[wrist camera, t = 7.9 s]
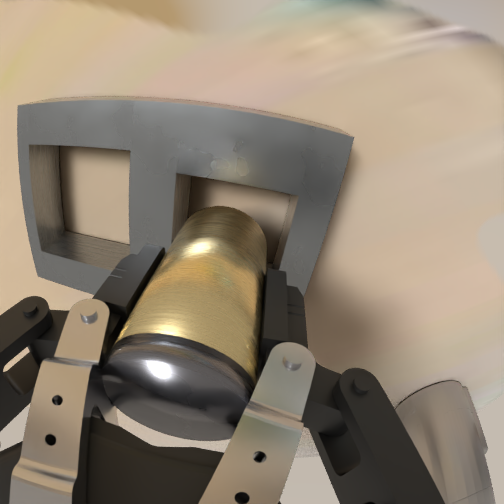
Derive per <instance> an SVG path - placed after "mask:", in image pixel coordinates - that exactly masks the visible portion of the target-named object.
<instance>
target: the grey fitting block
mask: <svg viewBox="0 0 504 504" xmlns="http://www.w3.org/2000/svg"><path fill="white" fill-rule="evenodd" d="M17 135H18V161H19V174H20V184H21V193H22V201H23V208H24V214H25V220H26V226H27V232H28V237H29V242H30V246H31V251H32V255H33V259H34V263H35V267H36V271H37V275H38V277H41V278H44V279H47V280H50V281H53V282H56V283H59V284H62V285H65V286H68V287H71V288H74V289H77V290H80V291H84V292H87V293H90V294H93V295H95V294H96V293H97V291H98V290H99V288H100V287H101V286H102V284H103V283H104V282H105V280H106V279H107V278H108V276H110V274H111V272H112V271H113V270H114V269H115V267H116V266H117V264H118V263H119V262H120V261H121V259H123V258H125V257H126V256H128V255H130V254H136V255H138V253H139V252H140V251H141V249H142V248H143V247H144V245H145V244H150V245H155V246H160V247H164V248H165V254H166V252H167V250H168V249H169V247H170V246H171V244H172V242H173V241H174V239H175V238H176V236H177V234H178V233H179V231H180V230H181V228H182V226H183V225H184V223H185V222H186V221H187V216H188V205H189V195H190V185H191V176H198V177H204V178H210V179H216V180H222V181H227V182H233V183H238V184H243V185H248V186H253V187H259V188H263V189H268V190H273V191H278V192H283V193H287V194H291V197H290V201H289V205H288V209H287V213H286V217H285V221H284V225H283V229H282V233H281V237H280V240H279V244H278V248H277V252H276V256H275V260H274V264H272V263H267V262H266V270H267V268H270V269H275V270H280V271H286V274H287V285H289V286H294V287H298V289H299V291H300V292H301V294H302V295H303V297H304V295H305V292H306V289H307V287H308V284H309V281H310V278H311V275H312V272H313V270H314V267H315V264H316V261H317V258H318V255H319V252H320V249H321V246H322V243H323V240H324V237H325V234H326V231H327V228H328V225H329V222H330V219H331V216H332V212H333V209H334V206H335V203H336V199H337V196H338V193H339V189H340V186H341V183H342V179H343V176H344V172H345V169H346V165H347V162H348V158H349V155H350V151H351V147H352V144H353V140H354V137H353V136H351V135H349V134H348V133H346V132H344V131H343V130H341V129H338V128H334V127H331V126H327V125H323V124H319V123H315V122H311V121H307V120H303V119H299V118H295V117H290V116H286V115H281V114H276V113H271V112H266V111H261V110H255V109H249V108H243V107H237V106H231V105H224V104H217V103H209V102H200V101H191V100H180V99H168V98H152V97H122V96H100V97H72V98H57V99H47V100H42V101H36V102H32V103H27V104H22V105H18V118H17ZM59 145H64V146H83V147H97V148H110V149H121V150H131V151H130V174H129V237H130V245H126V244H122V243H117V242H113V241H108V240H104V239H99V238H95V237H90V236H86V235H81V234H77V233H73V232H68V231H65V228H64V220H63V211H62V201H61V189H60V172H59ZM265 273H266V272H265Z"/></svg>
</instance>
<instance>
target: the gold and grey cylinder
mask: <svg viewBox="0 0 504 504" xmlns="http://www.w3.org/2000/svg"><path fill="white" fill-rule="evenodd" d="M266 258H267V243H266V239H265V235H264V233H263V231H262V229H261V228H260V226H259V225H258V224H257V223H256V221H254V220H253V219H252V218H251V217H250V216H248V215H247V214H245V213H244V212H242V211H240V210H237V209H235V208H231V207H225V206H213V207H208V208H204V209H202V210H199V211H197V212H196V213H194V214H193V215H192V216H190V217H189V218H188V219H187V221H186V222H185V223H184V225H183V226H182V228H181V230H180V231H179V233H178V234H177V236H176V238H175V239H174V241H173V242H172V244H171V246H170V247H169V249H168V250H167V252H166V254H165V255H164V257H163V259H162V260H161V262H160V264H159V265H158V267H157V269H156V270H155V272H154V274H153V275H152V277H151V279H150V280H149V282H148V284H147V286H146V287H145V289H144V291H143V293H142V294H141V296H140V298H139V300H138V301H137V303H136V305H135V307H134V308H133V310H132V312H131V314H130V316H129V318H128V319H127V321H126V323H125V325H124V327H123V329H122V330H121V332H120V334H119V336H118V338H117V340H116V342H115V344H114V346H113V348H112V349H111V351H110V353H109V355H108V357H107V359H106V361H105V363H104V365H103V367H102V369H101V372H102V375H103V385H104V389H105V391H106V393H107V396H108V398H109V401H110V402H112V403H114V406H115V407H116V408H118V409H119V410H120V411H121V412H123V413H124V414H125V415H127V416H128V417H130V418H131V419H133V420H135V421H137V422H138V423H140V424H142V425H144V426H146V427H149V428H151V429H153V430H156V431H158V432H161V433H164V434H167V435H171V436H175V437H179V438H184V439H190V440H198V441H219V440H226V439H231V438H232V436H233V434H234V432H235V430H236V428H237V426H238V423H239V421H240V419H241V417H242V415H243V413H244V410H245V408H246V406H247V404H248V403H249V401H250V399H251V397H252V394H253V392H254V390H255V388H256V385H257V375H258V363H259V346H260V333H261V321H262V308H263V295H264V281H265V272H266Z"/></svg>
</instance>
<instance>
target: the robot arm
mask: <svg viewBox="0 0 504 504" xmlns="http://www.w3.org/2000/svg"><path fill="white" fill-rule="evenodd" d="M164 255H165V248H164V247H160V246H155V245H150V244H145V245H144V247H143V248H142V249H141V251H140V252H139V253H138V255H136V254H130V255H128V256H126V257H125V258H123V259H121V261H120V262H119V263H118V264H117V266H116V267H115V269H114V270H113V271H112V272H111V274H110V276H108V278H107V279H106V280H105V282H104V283H103V284H102V286H101V287H100V288H99V290H98V291H97V293H96V294H95V295H94V297H93V298H92V299H85V300H81V301H79V302H77V303H76V304H74V305H73V306H72V308H71V309H70V311H63V310H50V309H49V306H48V303H47V301H46V300H45V299H43V298H42V297H38V296H31V297H27V298H25V299H23V300H21V301H20V302H18V303H17V304H16V305H14V306H13V307H11V308H10V309H9V310H7V311H6V312H4V313H3V314H2V315H0V431H1V430H2V429H3V428H4V427H5V426H7V424H8V423H10V421H12V420H13V419H14V418H15V417H16V416H17V415H18V414H19V413H20V412H21V411H22V410H23V409H24V408H25V407H26V406H27V405H28V404H29V403H31V404H30V408H29V413H28V417H27V422H26V427H25V432H24V438H23V441H22V442H20V443H17V444H15V445H13V446H11V447H9V448H7V449H5V450H3V451H0V504H281V503H280V501H279V500H280V497H281V494H282V492H283V489H284V486H285V483H286V481H287V477H288V475H289V472H290V469H291V466H292V462H293V460H294V457H295V454H296V450H297V447H298V444H299V441H300V437H301V434H302V430H303V426H304V427H306V428H309V430H310V433H311V435H312V438H313V440H314V443H315V445H316V447H317V450H318V452H319V455H320V457H321V459H322V462H323V464H324V466H325V469H326V472H327V474H328V476H329V479H330V481H331V484H332V486H333V488H334V490H335V493H336V495H337V498H338V500H339V503H340V504H495V499H494V493H493V488H492V483H491V479H490V475H489V470H488V466H487V462H486V458H485V453H486V452H487V450H488V447H487V443H486V440H485V437H484V434H483V430H482V427H481V424H480V421H479V418H478V416H477V413H476V410H475V407H474V404H473V402H472V399H471V396H470V394H469V391H468V389H467V387H462V386H461V384H460V383H459V382H456V381H446V382H441V383H438V384H434V385H432V386H429V387H427V388H424V389H422V390H420V391H418V392H417V393H415V394H413V395H411V396H410V397H408V398H407V399H406V400H404V401H403V402H402V403H401V404H400V405H399V406H398V407H397V408H396V409H394V407H393V406H392V404H391V402H390V400H389V399H388V397H387V395H386V393H385V392H384V390H383V388H382V387H381V385H380V383H379V382H378V380H377V379H376V377H375V376H374V375H373V374H371V373H370V372H368V371H366V370H364V369H360V368H351V369H348V370H346V371H345V372H344V373H343V374H342V375H341V374H339V373H336V372H334V371H331V370H328V369H326V368H324V367H322V366H320V365H319V364H318V363H316V361H315V358H314V356H313V354H312V353H311V352H310V351H309V350H308V344H307V331H306V319H305V309H304V297H303V295H302V294H301V292H300V291H299V289H298V287H294V286H289V285H287V274H286V271H280V270H275V269H270V268H267V270H266V273H265V281H264V295H263V308H262V321H261V333H260V346H259V363H258V375H257V385H256V388H255V390H254V392H253V394H252V397H251V399H250V401H249V403H248V404H247V406H246V408H245V410H244V413H243V415H242V417H241V419H240V421H239V423H238V426H237V428H236V430H235V432H234V434H233V436H232V438H231V440H230V442H229V444H228V446H227V449H226V451H225V453H223V452H217V451H211V450H206V449H201V448H196V447H157V446H153V445H150V444H148V443H147V442H145V441H143V440H141V439H140V438H138V437H136V436H135V435H133V434H131V433H130V432H128V431H126V430H125V429H123V428H122V427H120V426H118V419H117V408H116V407H115V406H114V403H112V402H110V401H109V398H108V396H107V393H106V391H105V389H104V385H103V375H102V372H101V369H102V367H103V365H104V363H105V361H106V359H107V357H108V355H109V353H110V351H111V349H112V348H113V346H114V344H115V342H116V340H117V338H118V336H119V334H120V332H121V330H122V329H123V327H124V325H125V323H126V321H127V319H128V318H129V316H130V314H131V312H132V310H133V308H134V307H135V305H136V303H137V301H138V300H139V298H140V296H141V294H142V293H143V291H144V289H145V287H146V286H147V284H148V282H149V280H150V279H151V277H152V275H153V274H154V272H155V270H156V269H157V267H158V265H159V264H160V262H161V260H162V259H163V257H164ZM26 347H28V349H29V351H30V352H29V353H28V354H27V355H25V356H24V357H23V358H22V359H21V360H20V361H18V362H17V363H16V364H15V365H14V366H12V367H11V368H10V369H9V370H8V371H6V372H3V369H4V366H5V365H6V364H7V363H8V362H9V361H10V360H12V359H13V358H14V357H15V356H16V355H18V354H19V353H20V352H21V351H22V350H24V349H25V348H26ZM0 446H1V443H0Z"/></svg>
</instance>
